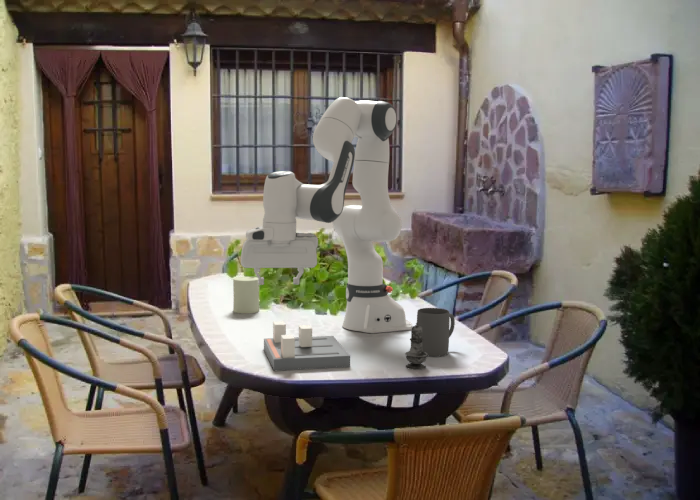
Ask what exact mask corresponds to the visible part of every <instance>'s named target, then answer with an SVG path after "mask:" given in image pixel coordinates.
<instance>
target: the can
mask: <svg viewBox="0 0 700 500" xmlns="http://www.w3.org/2000/svg"><path fill="white" fill-rule="evenodd" d="M232 283H233V309H232V311H233V313H235V314H241V315H242V314H256V313H259V312H260V285H258V277H257V276H236V277H233V278H232Z"/></svg>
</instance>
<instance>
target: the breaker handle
mask: <svg viewBox="0 0 700 500" xmlns="http://www.w3.org/2000/svg"><path fill="white" fill-rule="evenodd" d="M298 337H299V345H300V346H301V347H312V337H313V328H312V326H311V325H310V324H308V325H303V324H302V325H301V324H300V325H298Z"/></svg>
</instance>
